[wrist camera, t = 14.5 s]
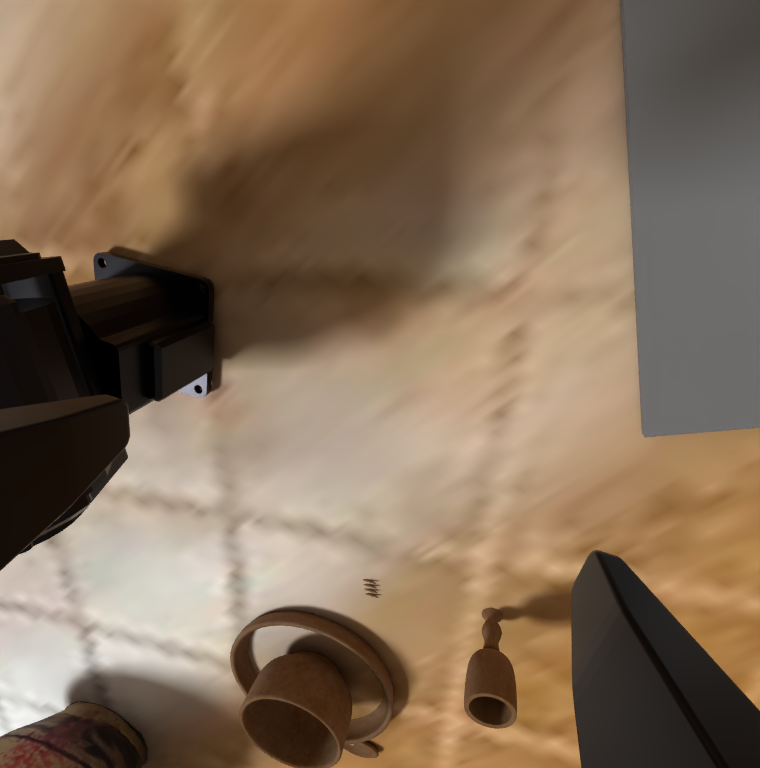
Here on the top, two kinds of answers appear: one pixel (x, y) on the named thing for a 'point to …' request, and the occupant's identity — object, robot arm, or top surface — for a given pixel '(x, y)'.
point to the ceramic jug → (74, 741)
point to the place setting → (347, 693)
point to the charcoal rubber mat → (695, 210)
